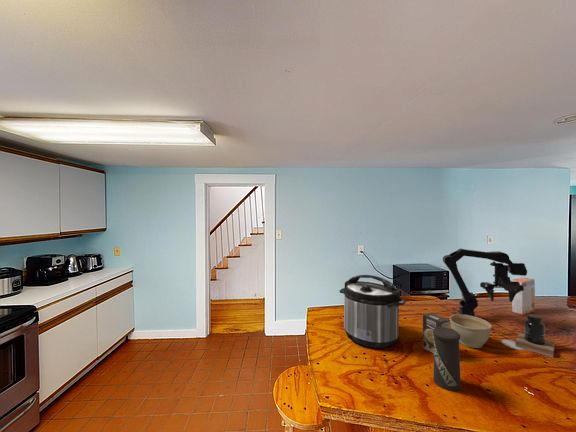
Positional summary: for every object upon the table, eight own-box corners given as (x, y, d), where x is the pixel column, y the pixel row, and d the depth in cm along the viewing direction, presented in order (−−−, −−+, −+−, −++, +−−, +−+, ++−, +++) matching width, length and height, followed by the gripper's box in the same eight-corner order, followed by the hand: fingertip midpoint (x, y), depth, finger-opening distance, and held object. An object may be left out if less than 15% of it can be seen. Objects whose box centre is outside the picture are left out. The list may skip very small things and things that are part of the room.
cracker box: (523, 308, 158) (523, 276, 158) (535, 312, 152) (535, 279, 152) (510, 311, 153) (510, 279, 153) (522, 315, 147) (522, 281, 147)
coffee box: (422, 348, 113) (421, 314, 113) (431, 345, 116) (431, 311, 116) (441, 358, 105) (440, 321, 105) (450, 355, 107) (450, 319, 107)
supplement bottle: (547, 346, 108) (547, 320, 108) (526, 342, 112) (526, 317, 112) (542, 340, 114) (542, 315, 114) (522, 336, 118) (522, 312, 118)
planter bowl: (453, 331, 128) (453, 311, 128) (493, 343, 117) (493, 320, 117) (446, 343, 117) (446, 321, 117) (489, 357, 105) (489, 332, 105)
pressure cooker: (416, 344, 116) (415, 279, 116) (368, 357, 107) (367, 286, 106) (374, 319, 145) (373, 267, 144) (333, 327, 135) (332, 271, 135)
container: (427, 376, 94) (427, 325, 93) (449, 374, 94) (448, 324, 94) (444, 392, 85) (443, 336, 85) (467, 390, 86) (467, 335, 86)
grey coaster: (509, 350, 112) (509, 348, 112) (497, 340, 120) (497, 338, 120) (532, 351, 110) (532, 350, 110) (518, 341, 119) (518, 340, 119)
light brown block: (553, 357, 104) (553, 351, 104) (515, 346, 114) (515, 341, 114) (554, 347, 112) (554, 342, 112) (519, 337, 121) (519, 332, 121)
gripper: (491, 277, 130) (492, 305, 130) (531, 278, 127) (532, 307, 127) (479, 272, 141) (479, 298, 141) (515, 273, 138) (516, 300, 138)
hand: (501, 301), depth 136 cm, fingers open, 9 cm apart
